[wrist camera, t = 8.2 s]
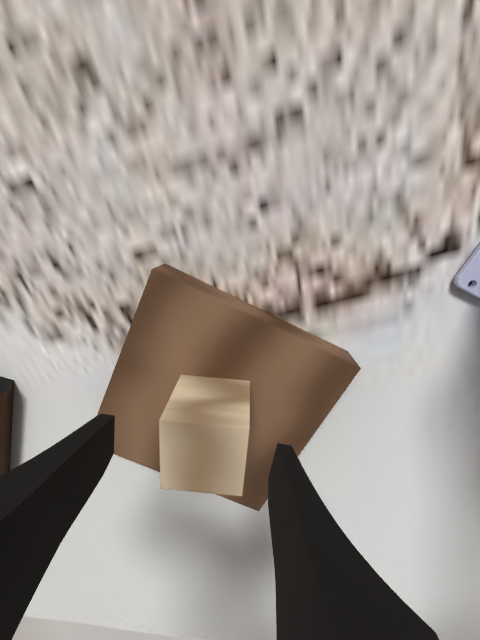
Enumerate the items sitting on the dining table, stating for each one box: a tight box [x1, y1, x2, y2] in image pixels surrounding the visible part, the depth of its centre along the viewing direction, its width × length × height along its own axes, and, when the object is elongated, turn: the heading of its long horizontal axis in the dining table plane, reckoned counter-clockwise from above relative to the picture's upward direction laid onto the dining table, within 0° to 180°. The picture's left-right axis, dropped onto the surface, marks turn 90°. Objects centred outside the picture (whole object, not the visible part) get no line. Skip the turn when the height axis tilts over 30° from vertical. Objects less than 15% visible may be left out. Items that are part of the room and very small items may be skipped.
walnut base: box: [97, 264, 361, 511], centre depth 20 cm, size 14×14×2 cm
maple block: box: [159, 375, 250, 496], centre depth 17 cm, size 4×4×4 cm
